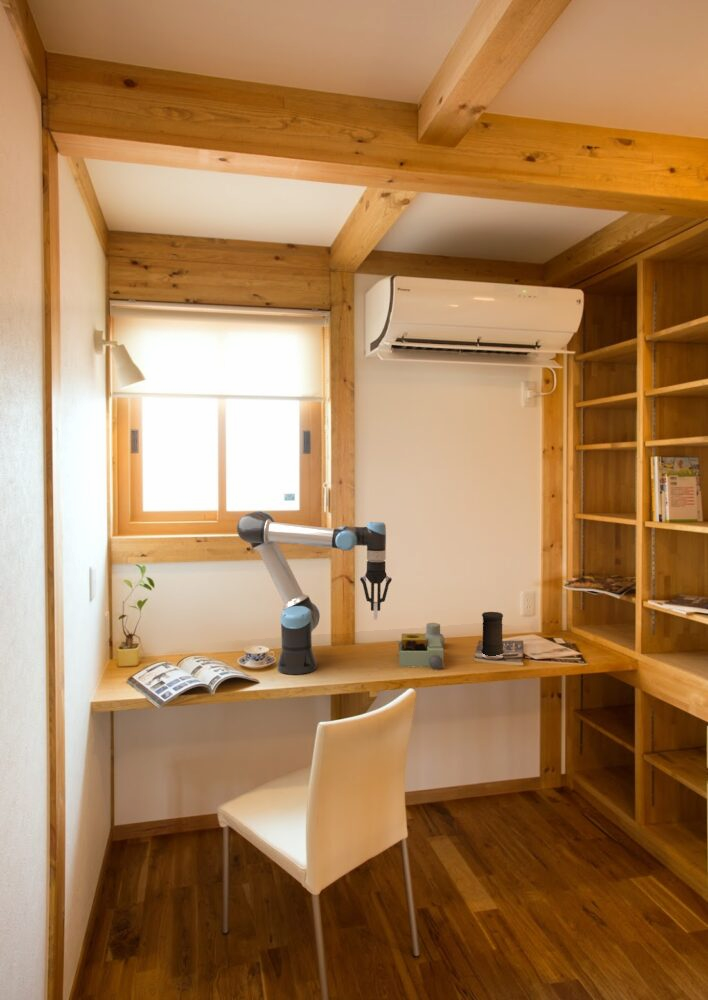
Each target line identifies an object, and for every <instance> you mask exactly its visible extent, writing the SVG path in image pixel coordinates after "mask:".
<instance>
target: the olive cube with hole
mask: <svg viewBox="0 0 708 1000" xmlns="http://www.w3.org/2000/svg"><path fill="white" fill-rule="evenodd" d="M425 634H426V633H417V632H416V633H401V641H402V651H426V637H425Z"/></svg>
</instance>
